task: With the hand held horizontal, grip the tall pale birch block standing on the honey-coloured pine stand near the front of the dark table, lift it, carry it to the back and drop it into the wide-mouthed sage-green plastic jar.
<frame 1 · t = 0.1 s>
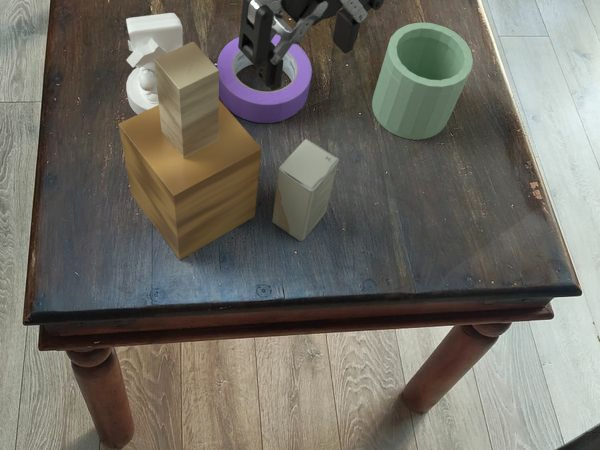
hand: (306, 64, 65), 20 cm above the table, tool pointing down, fingers open, 8 cm apart
stand: (193, 206, 80), on the table
box: (298, 219, 81), on the table
tape roll: (262, 88, 90), on the table
character figurine: (163, 93, 88), on the table
block: (190, 136, 69), point 13 cm above the table, touching stand
jar: (410, 108, 90), on the table
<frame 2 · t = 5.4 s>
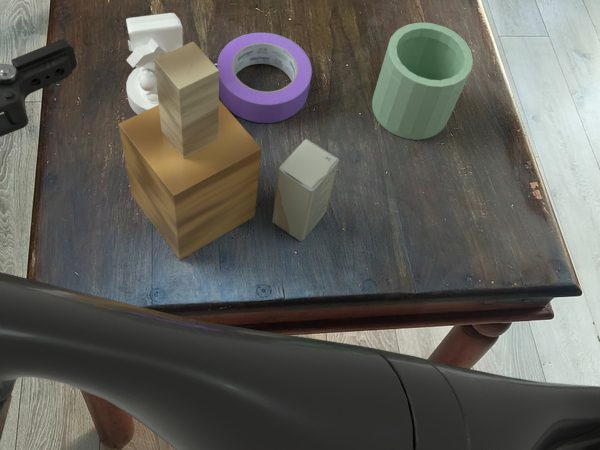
hand: (41, 11, 46), 34 cm above the table, tool horizontal, fingers open, 8 cm apart
nothing on the table moved.
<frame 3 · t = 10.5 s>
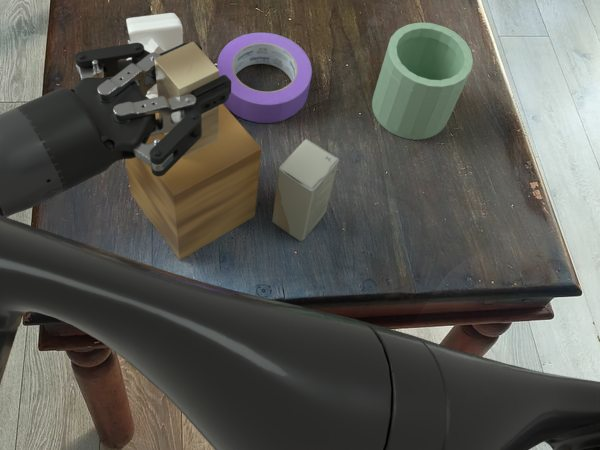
hand: (213, 67, 63), 21 cm above the table, tool horizontal, fingers closed on block, 4 cm apart
block: (190, 136, 69), point 13 cm above the table, touching gripper, stand
everything else where it was.
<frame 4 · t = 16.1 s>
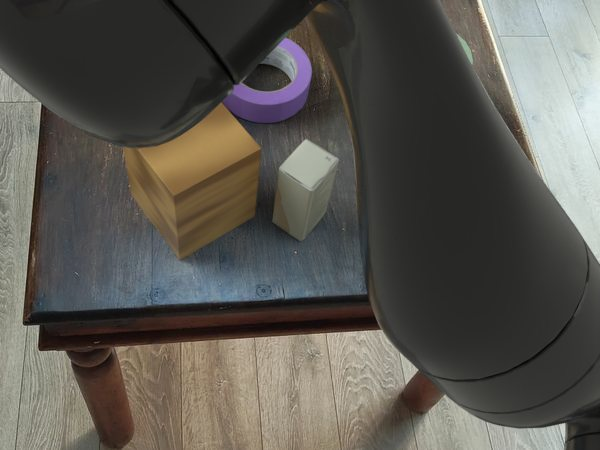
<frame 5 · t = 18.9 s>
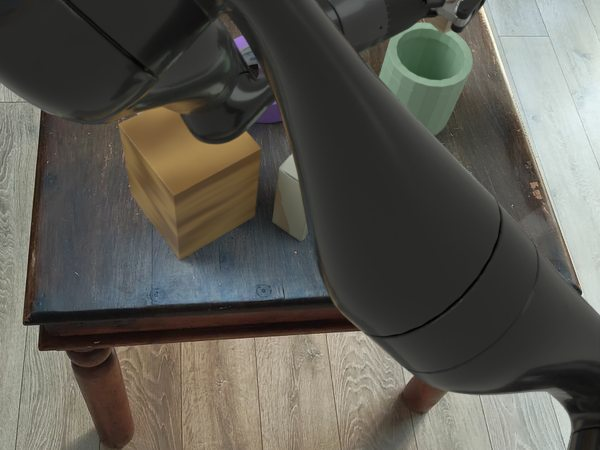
block: (443, 16, 77), point 16 cm above the table, touching gripper
everything else where it was.
when the fingers open (17 cm above the table, at t = 21.5 s): block drops 8 cm, resting on jar.
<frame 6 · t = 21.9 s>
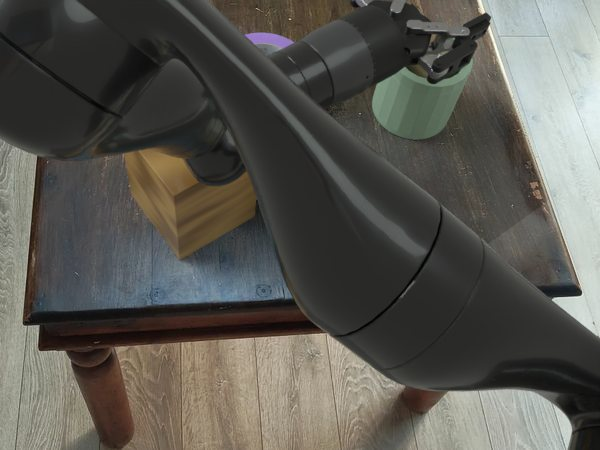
block: (410, 101, 90), point 1 cm above the table, touching jar
everything else where it was.
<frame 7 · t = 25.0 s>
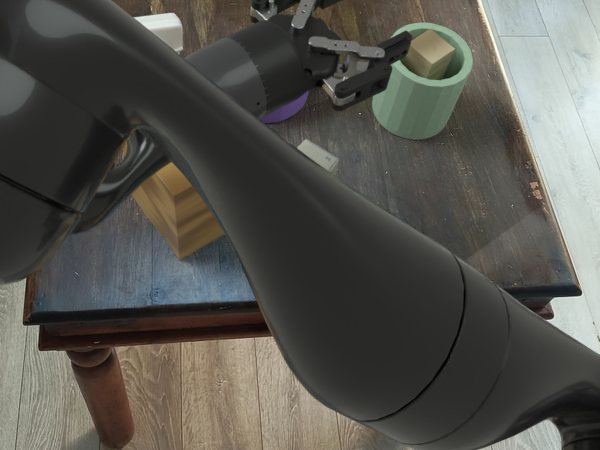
hand: (378, 11, 67), 22 cm above the table, tool horizontal, fingers open, 8 cm apart
nothing on the table moved.
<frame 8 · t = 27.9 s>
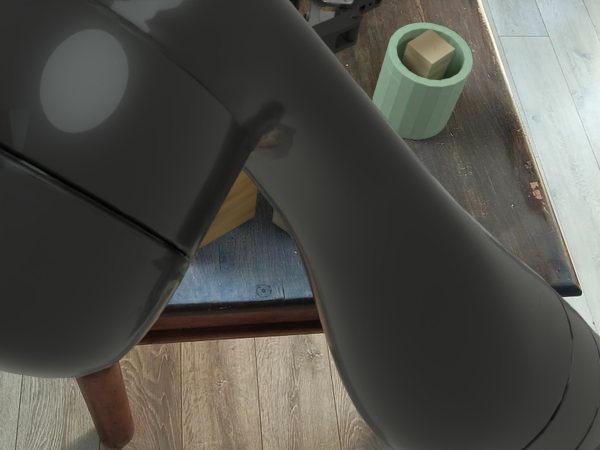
nothing on the table moved.
at the end: block inside the target area in the jar (0.4 cm from its centre), point 0.8 cm above the jar's base; the gripper is holding nothing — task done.
